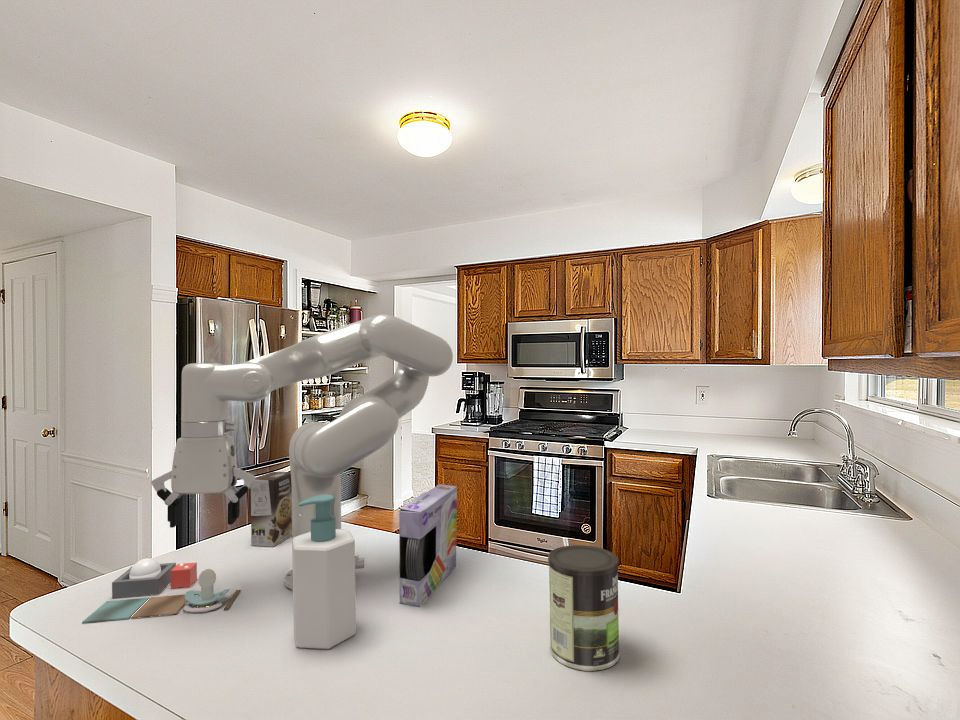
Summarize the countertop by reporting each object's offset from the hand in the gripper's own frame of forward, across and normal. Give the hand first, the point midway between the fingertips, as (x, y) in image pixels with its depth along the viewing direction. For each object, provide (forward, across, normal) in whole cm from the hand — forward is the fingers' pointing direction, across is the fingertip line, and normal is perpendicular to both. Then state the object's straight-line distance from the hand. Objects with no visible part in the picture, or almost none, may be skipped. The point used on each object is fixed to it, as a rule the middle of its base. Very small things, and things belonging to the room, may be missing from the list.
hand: (204, 523), depth 93 cm
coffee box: (+14, -5, -33) cm, 36 cm away
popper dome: (+14, +14, -10) cm, 22 cm away
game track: (+15, +7, 0) cm, 16 cm away
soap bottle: (+14, -23, +15) cm, 31 cm away
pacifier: (+15, -1, +1) cm, 15 cm away
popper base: (+15, +11, -10) cm, 21 cm away
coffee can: (+14, -62, +28) cm, 70 cm away
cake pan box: (+14, -41, +1) cm, 44 cm away
